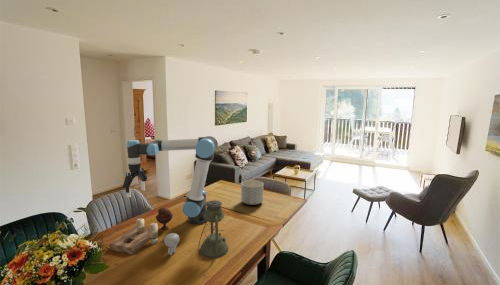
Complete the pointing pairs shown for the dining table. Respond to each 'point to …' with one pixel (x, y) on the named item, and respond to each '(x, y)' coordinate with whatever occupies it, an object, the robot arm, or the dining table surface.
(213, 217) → the lantern
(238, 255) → the dining table surface
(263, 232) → the dining table surface
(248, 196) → the planter
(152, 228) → the peg
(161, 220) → the ice cream bowl
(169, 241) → the grey light bulb
